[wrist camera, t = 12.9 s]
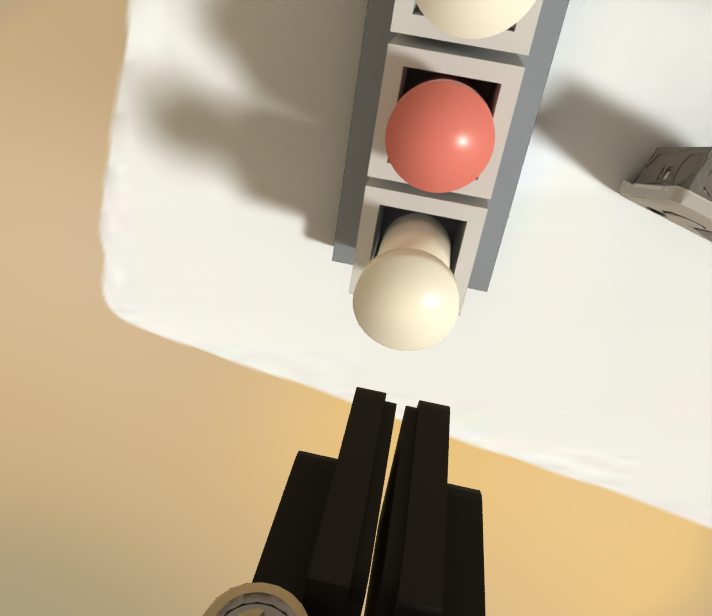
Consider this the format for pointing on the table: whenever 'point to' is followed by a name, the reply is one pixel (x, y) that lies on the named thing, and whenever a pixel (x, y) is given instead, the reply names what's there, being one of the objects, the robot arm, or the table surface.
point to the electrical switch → (677, 187)
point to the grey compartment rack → (509, 112)
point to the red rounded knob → (440, 134)
